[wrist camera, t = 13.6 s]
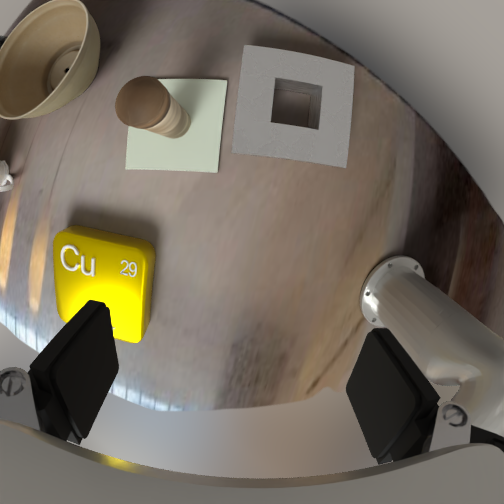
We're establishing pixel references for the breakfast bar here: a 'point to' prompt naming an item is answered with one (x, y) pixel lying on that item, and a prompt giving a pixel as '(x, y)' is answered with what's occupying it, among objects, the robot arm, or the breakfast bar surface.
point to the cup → (5, 177)
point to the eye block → (302, 81)
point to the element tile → (105, 277)
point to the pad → (194, 141)
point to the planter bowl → (48, 59)
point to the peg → (151, 108)
